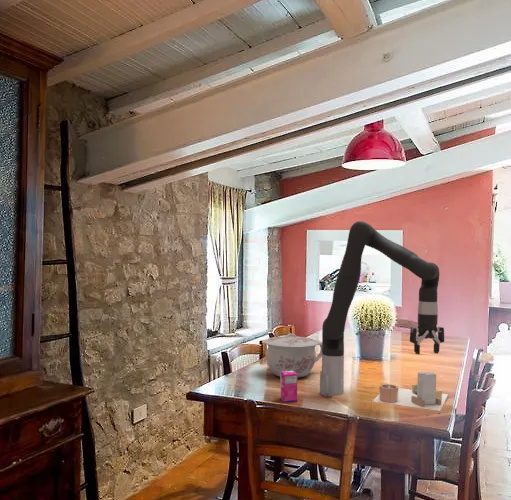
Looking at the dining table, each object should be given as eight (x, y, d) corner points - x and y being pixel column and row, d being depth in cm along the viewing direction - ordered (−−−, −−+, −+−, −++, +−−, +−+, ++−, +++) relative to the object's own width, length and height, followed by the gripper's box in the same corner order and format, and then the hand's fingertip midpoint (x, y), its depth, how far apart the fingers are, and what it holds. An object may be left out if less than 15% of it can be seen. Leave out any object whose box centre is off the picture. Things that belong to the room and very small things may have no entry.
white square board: (372, 404, 212) (372, 392, 212) (386, 389, 235) (386, 378, 235) (440, 413, 200) (440, 401, 200) (448, 397, 224) (448, 386, 224)
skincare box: (429, 400, 212) (430, 371, 212) (436, 404, 208) (437, 373, 207) (416, 401, 210) (416, 371, 210) (422, 405, 206) (423, 374, 206)
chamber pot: (254, 378, 251) (254, 335, 251) (273, 367, 277) (274, 327, 277) (311, 385, 241) (311, 339, 241) (325, 372, 267) (326, 331, 267)
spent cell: (387, 400, 212) (387, 386, 212) (383, 398, 215) (384, 384, 215) (393, 399, 213) (393, 386, 213) (390, 398, 215) (390, 384, 215)
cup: (385, 403, 209) (385, 389, 209) (376, 398, 216) (377, 384, 216) (400, 401, 211) (401, 388, 211) (391, 397, 218) (391, 383, 218)
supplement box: (279, 398, 218) (280, 371, 218) (293, 397, 220) (293, 370, 220) (283, 402, 213) (284, 374, 213) (297, 401, 214) (298, 373, 214)
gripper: (417, 314, 204) (416, 356, 204) (449, 313, 208) (448, 354, 208) (406, 311, 211) (405, 352, 211) (437, 311, 215) (436, 351, 215)
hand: (426, 353), depth 209 cm, fingers open, 8 cm apart
